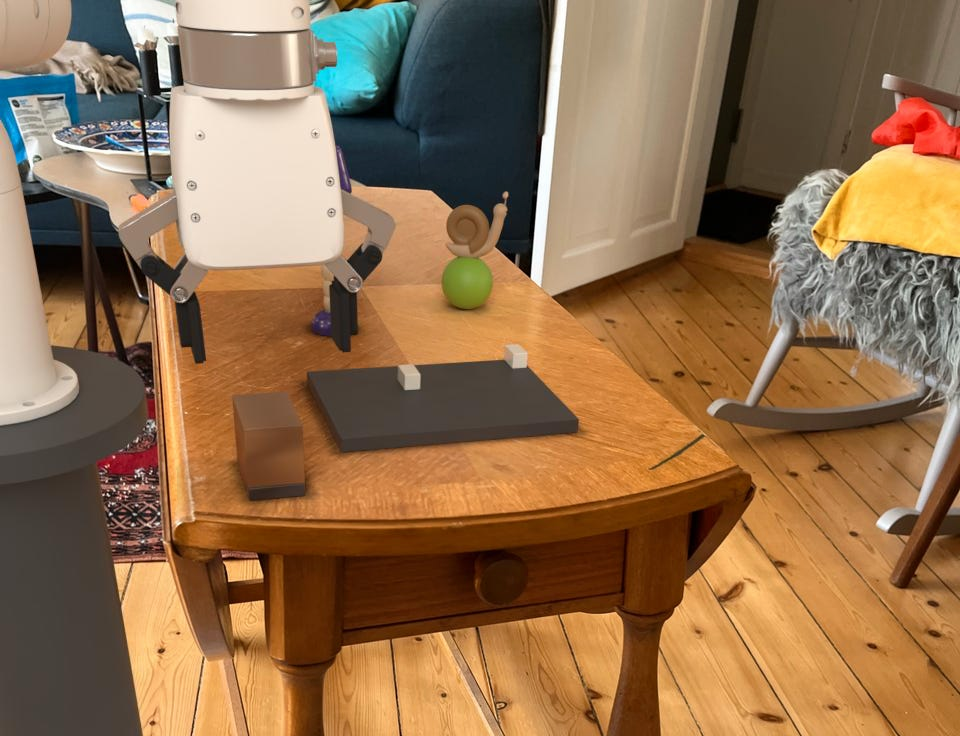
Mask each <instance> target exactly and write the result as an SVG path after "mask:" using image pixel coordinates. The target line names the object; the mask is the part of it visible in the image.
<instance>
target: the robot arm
mask: <svg viewBox="0 0 960 736" xmlns="http://www.w3.org/2000/svg"><path fill="white" fill-rule="evenodd" d="M174 8H175V15H176V23H177V36H178V37H177V38H178V44H179V53H180V54H179V55H180V63H181V72H182V79H183V85H178V86H174V87H173V86H172V88H170V100H169V127H168V128H169V129H168V130H169V131H168V132H169V156H170V170H171V171H170V172H171V185H172V192H170V193H168V194H167V195H166V196H164V197H162V198H161V199H159V200H158V201H155V202H154V203H152V204H150V205H149V206H147V207H146V208H144V209H143V210H141V211H140V212H138V213H136V214H135V215H133V216H131V217H130V218H128V219H126V220H125V221H123V222H121V223H119V225H118V228H117V233H118V238H119V240H120V242H121V243H122V245H123V246H124V247H125V249H126V250H127V252H128V253H129V254H130V256H131V257H132V259H133V260H134V262H135V263H136V264H137V266H138V267H139V268H140V270H141V272H142V274H143V275H144V276H145V277H146V278H147V279H148V280H150V281H152V283H154V285H156V286H158V287H159V288H160V289H161V290H162V291H164V292H165V293H166V294H167V295H169V297H170V298H171V299H172V301H174V307H175V315H176V322H177V330H178V338H179V344H180V347H181V349H182V348H190V350H191V351H190V352H191V354H192V357H193V360H194V363H195V365H199V364H204V362H207V353H206V346H205V345H206V344H205V337H204V329H203V321H202V313H201V305H200V301H199V299H198V295H197V293H196V292H195V291H196V289H197V288H198V286H199V285H200V283H201V282H202V280H203V279H204V278H205V276H206V275H207V273H208V272H209V271H216V272H217V271H219V272H221V271H243V270H245V271H246V270H264V269H282V268H284V269H285V268H301V267H314V266H321V265H322V264H324V265H325V266H326V267H327V268H328V269H329V270H330V271H331V273H332V274H333V275H334V281H331V282H332V284H330V285H329V294H330V315H331V335H332V336H331V339H332V342H333V343H334V344H335V347H337V349H338V350H339V351H340V352H342V353H343V354H344V353H351V351H352V339H351V336H358V334H359V333H358V332H359V324H358V323H359V320H358V292H360V291H361V289H362V288H363V285H364V284H363V283H364V282H365V281H366V280H367V278H368V277H369V276H370V275H371V274H372V273H373V271H374V270H376V268H377V267H378V266H379V265H380V264H381V262H382V261H383V254H384V252H385V250H387V247H388V245H389V243H390V240H391V238H392V236H393V234H394V232H395V230H396V227H397V221H396V220H395V218H394V217H393V216H392V215H390V214H389V213H388V212H386V211H385V210H383V209H382V208H379V207H377V206H375V205H373V204H371V203H369V202H367V201H365V200H363V199H361V198H359V197H358V196H356V195H354V194H352V193H351V194H350V193H348V192H346V191H344V190H342V189H341V188H340V179H339V170H338V163H337V155H336V147H335V145H336V141H335V135H334V129H333V123H332V119H331V114H330V110H329V104H328V100H327V97H326V92H325V90H324V89H323V88H321V87H318V86H315V83H316V82H317V75H319V73H320V71H324V70H325V68H337V65H338V50H337V48H338V47H337V44H336V42H335V41H324V40H323V38H318V36H317V35H315V31H314V30H312V29H311V28H312V24H311V3H310V0H174ZM71 23H72V0H0V71H6V70H7V71H9V70H14V69H20V68H27V67H31V66H35V65H39V64H41V63H44V62H45V61H48V60H49V59H50V58H52V57H53V56H55V55H56V54H57V53H58V52H59V51H60V50H61V49H62V47H63V46H64V44H65V43H66V40H67V39H68V37H69V36H68V35H69V32H70V30H71ZM27 213H28V212H27V208H26V202H25V198H24V193H23V187H22V182H21V177H20V171H19V166H18V163H17V157H16V153H15V149H14V147H13V144H12V142H11V138H10V136H9V134H8V131H7V130H6V128H5V124H4V123H3V121H2V120H1V119H0V426H4V425H11V424H18V423H22V422H27V421H31V420H35V419H38V418H42V417H45V416H48V415H50V414H52V413H55V412H57V411H59V410H61V409H63V408H64V407H66V406H68V405H69V404H70V403H71V402H72V401H73V400H74V399H75V398H76V396H77V395H78V393H79V383H78V378H77V374H76V373H75V372H74V370H73V369H72V368H70V367H69V366H67V365H66V364H64V363H61V362H59V361H57V360H53V354H52V349H51V345H52V344H51V338H50V332H49V328H48V323H47V315H46V312H45V305H44V301H43V295H42V289H41V284H40V279H39V274H38V268H37V262H36V258H35V251H34V246H33V241H32V235H31V231H30V230H31V229H30V224H29V219H28V214H27ZM344 216H346V217H348V218H350V219H351V220H353V221H356V222H358V223H360V224H362V225H364V226H365V227H367V232H366V234H365V238H364V240H363V242H362V243H361V244H360V245H359V246H358V247H357V248H356V250H355V251H354V252H352V254H351V255H350V256H349V258H348V259H346V258H345V257H344V256H343V255H342V254H343V251H344V248H345V247H344V246H345V222H344V221H345V219H344ZM173 223H176V230H177V236H178V237H177V238H178V240H179V244H180V246H181V248H183V251H184V252H183V253H182V255H180V258H179V259H178V260H177V262H176V263H175V265H174V266H171V265H170V264H168V263H167V262H166V261H165V260H164V259H162V257H160V256H159V255H158V254H157V253H156V252H155V251H154V249H153V248H152V246H151V245H150V243H149V240H150V238H151V237H152V236H153V235H155V234H158V233H159V232H161V230H162V231H163V229H165V228H167V227H168V226H170V225H172V224H173Z"/></svg>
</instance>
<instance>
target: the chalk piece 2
mask: <svg viewBox="0 0 960 736" xmlns="http://www.w3.org/2000/svg"><path fill="white" fill-rule="evenodd" d="M503 353H504V354H503V360H505V361H506V362H507V363H508V364H509V365H510V366H511V367H512V368H513V369H514V368H526V367H527V366H528V357H529V356H528V355H529V353H528V351H526V350H525V349H524V348H523V347H522V346H521V344H519V343H516V344H515V343H514V344H513V343H512V344H505V345H504V352H503Z"/></svg>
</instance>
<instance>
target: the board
mask: <svg viewBox="0 0 960 736" xmlns="http://www.w3.org/2000/svg"><path fill="white" fill-rule="evenodd" d="M413 365H414V366H415V367H416V369H417V370H418V372H419V373H420V375H421V377H420V389H418V390H404V388H403V387H402V386H401V384H400V383H399V381H398V365H394V366H393V365H391V366H376V367H360V368H359V367H358V368H343V369H328V370H309V371H306V384H307V386H308V389H309V391H310V392H311V394H312V396H313V398H314V401H315V402H316V404H317V407H318V408H319V411H320V412H321V414H322V416H323V419H324V420H325V422H326V424H327V427H328V429H329V430H330V432H331V435H332V437H333V439H334V440H335V443H336V445H337V446H338V449H339V451H340V452H341V453H347V452H361V451H362V452H363V451H373V450H384V449H385V450H386V449H396V448H408V447H409V448H411V447H420V446H421V447H422V446H433V445H444V444H445V445H446V444H457V443H467V442H479V441H480V442H481V441H491V440H504V439H513V438H527V437H538V436H549V435H550V436H551V435H552V436H553V435H563V434H564V435H565V434H573V433H574V434H575V433H578V432H579V430H578V429H579V423H580V418H579V417H577V415H576V414H575V413H574V412H573V411H572V410H571V409H570V408H569V407H568V406H567V405H566V404H565V403H564V402H563V401H562V399H560V398H559V397H558V396H557V394H556V393H554V391H553V390H552V389H551V388H550V387H548V385H547V384H546V383H545V382H544V380H542V379H541V378H540V377H539V376H538V375H537V374H536V373H535V371H533V370H532V369H531V368H530V367H529V365H527V367H526V368H514V369H513V368H512V367H511V366H510V365H509V364H508V363H507V362H506V361H505V360H504V359H492V360H490V359H489V360H474V361H473V360H472V361H459V362H441V363H423V364H413Z"/></svg>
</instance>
